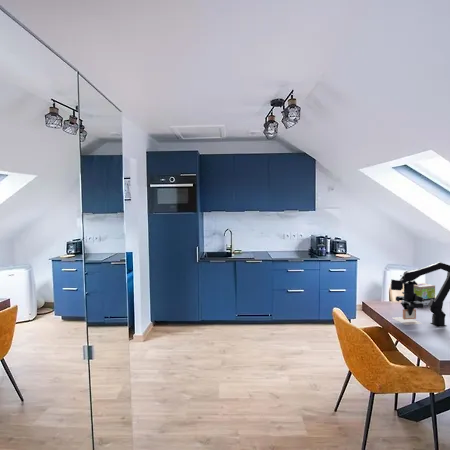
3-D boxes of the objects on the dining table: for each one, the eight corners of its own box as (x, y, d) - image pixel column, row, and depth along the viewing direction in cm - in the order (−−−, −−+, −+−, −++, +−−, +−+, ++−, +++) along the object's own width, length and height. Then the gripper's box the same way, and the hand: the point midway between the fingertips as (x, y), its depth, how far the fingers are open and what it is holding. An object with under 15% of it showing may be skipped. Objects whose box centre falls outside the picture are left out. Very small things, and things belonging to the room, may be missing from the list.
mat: (423, 324, 199) (423, 323, 199) (405, 325, 198) (405, 324, 198) (407, 317, 213) (407, 316, 213) (391, 318, 212) (391, 317, 212)
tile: (416, 318, 203) (416, 309, 203) (404, 319, 202) (404, 310, 202) (414, 317, 205) (414, 308, 205) (402, 318, 204) (402, 309, 204)
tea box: (421, 306, 237) (421, 287, 237) (409, 303, 247) (409, 284, 246) (435, 304, 243) (435, 285, 242) (423, 300, 252) (423, 282, 252)
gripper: (431, 293, 195) (431, 319, 195) (410, 287, 213) (410, 310, 214) (414, 294, 193) (414, 320, 194) (395, 287, 212) (395, 311, 212)
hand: (409, 315), depth 203 cm, fingers closed on tile, 2 cm apart
